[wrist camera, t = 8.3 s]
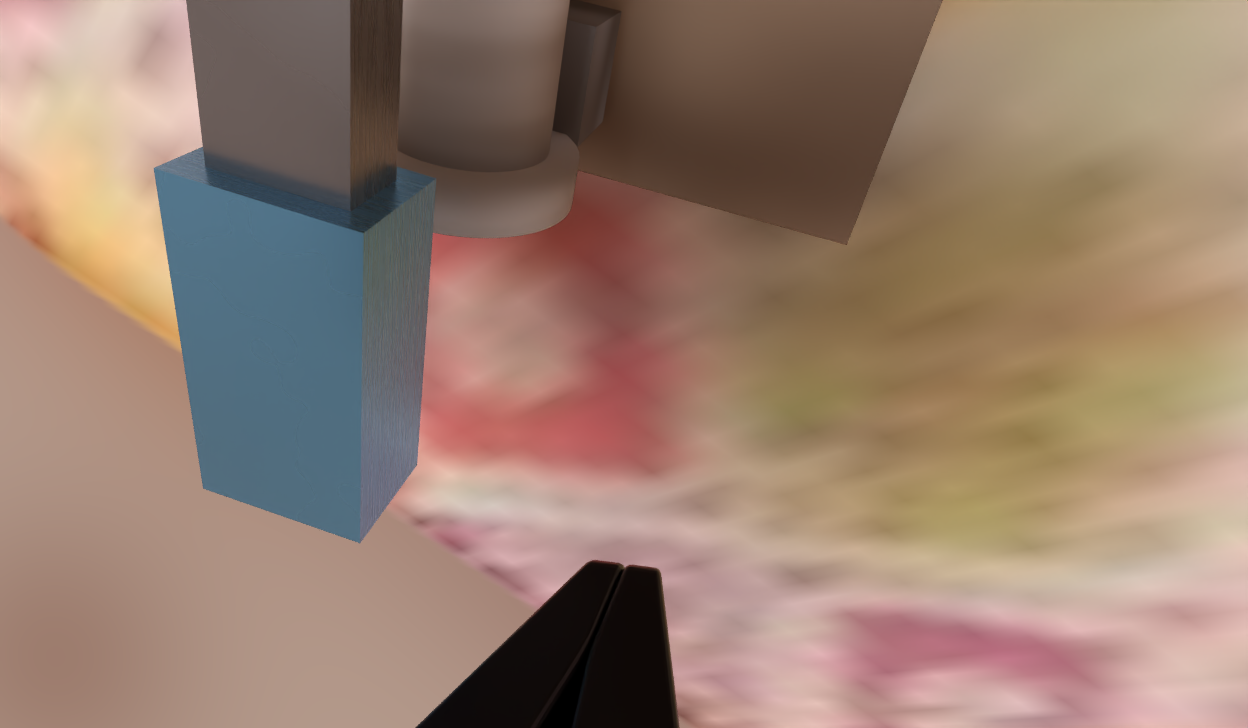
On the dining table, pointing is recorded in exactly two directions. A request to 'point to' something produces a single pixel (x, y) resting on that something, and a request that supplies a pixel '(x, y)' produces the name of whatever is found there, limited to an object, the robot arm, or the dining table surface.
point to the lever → (300, 259)
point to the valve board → (653, 104)
